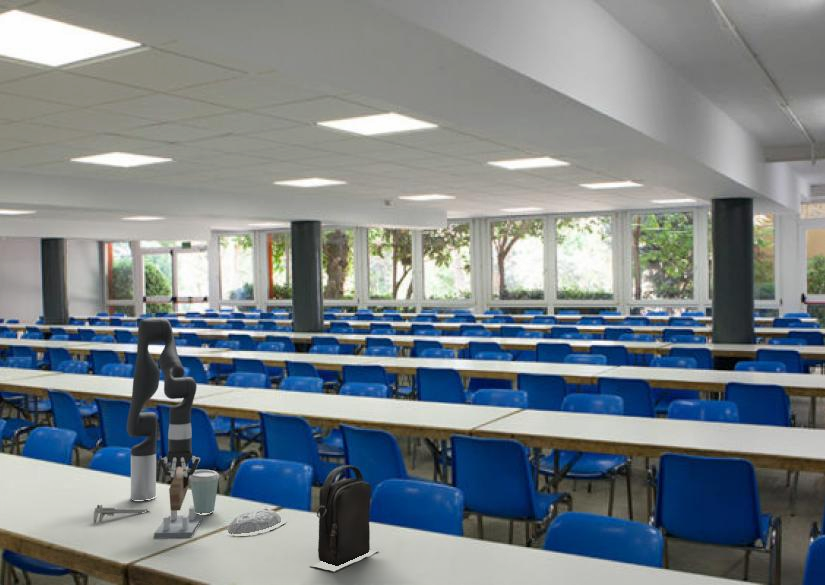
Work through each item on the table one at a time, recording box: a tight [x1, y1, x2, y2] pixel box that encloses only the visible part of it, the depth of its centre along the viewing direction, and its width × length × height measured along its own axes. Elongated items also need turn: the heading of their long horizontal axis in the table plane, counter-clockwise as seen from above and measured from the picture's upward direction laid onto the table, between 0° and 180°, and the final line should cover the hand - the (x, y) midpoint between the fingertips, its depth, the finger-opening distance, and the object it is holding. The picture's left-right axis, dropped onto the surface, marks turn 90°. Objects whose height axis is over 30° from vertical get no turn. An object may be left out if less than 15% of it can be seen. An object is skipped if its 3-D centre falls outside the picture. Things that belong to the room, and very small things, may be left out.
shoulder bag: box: [316, 464, 372, 566], centre depth 235 cm, size 23×9×28 cm, turn 146°
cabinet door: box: [168, 467, 191, 512], centre depth 265 cm, size 16×4×8 cm, turn 4°
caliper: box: [93, 504, 149, 524], centre depth 278 cm, size 20×1×6 cm, turn 136°
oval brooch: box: [226, 507, 282, 534], centre depth 267 cm, size 16×25×7 cm, turn 147°
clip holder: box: [153, 505, 204, 539], centre depth 265 cm, size 20×12×6 cm, turn 5°
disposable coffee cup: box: [189, 469, 220, 514], centre depth 283 cm, size 11×11×15 cm
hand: (179, 487), depth 265 cm, fingers closed on cabinet door, 3 cm apart
